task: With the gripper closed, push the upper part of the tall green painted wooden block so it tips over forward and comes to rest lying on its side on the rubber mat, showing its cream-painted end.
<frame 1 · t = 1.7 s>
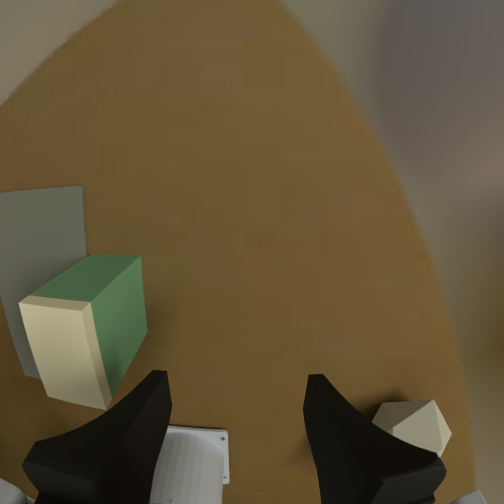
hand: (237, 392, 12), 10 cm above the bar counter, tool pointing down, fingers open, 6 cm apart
block: (119, 294, 22), on the bar counter
mat: (42, 298, 22), on the bar counter
die: (391, 415, 26), on the bar counter
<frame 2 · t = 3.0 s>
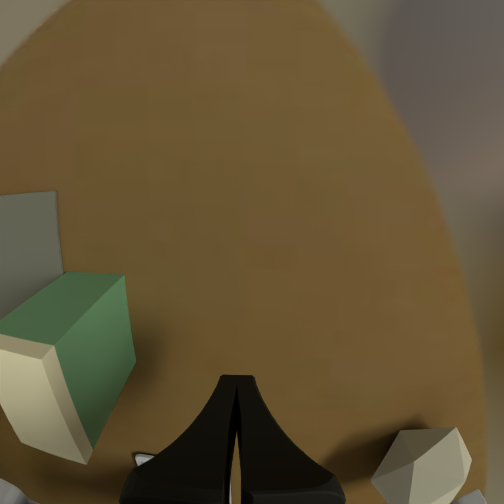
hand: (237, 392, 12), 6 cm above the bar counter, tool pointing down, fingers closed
block: (101, 318, 18), on the bar counter
mat: (18, 319, 18), on the bar counter
die: (408, 441, 22), on the bar counter
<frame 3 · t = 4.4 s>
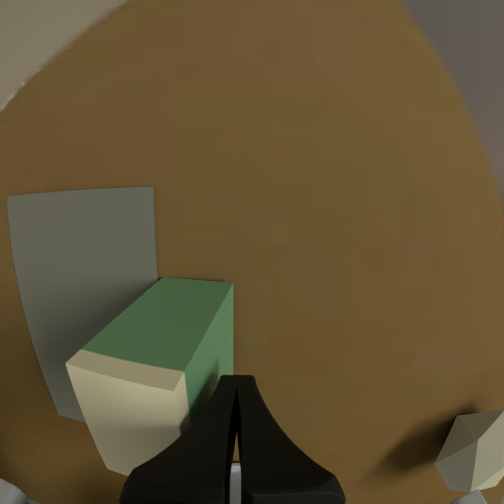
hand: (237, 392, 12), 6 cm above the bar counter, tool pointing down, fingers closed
block: (199, 328, 18), on the bar counter, tilted 9°
mat: (87, 331, 18), on the bar counter
die: (460, 426, 22), on the bar counter
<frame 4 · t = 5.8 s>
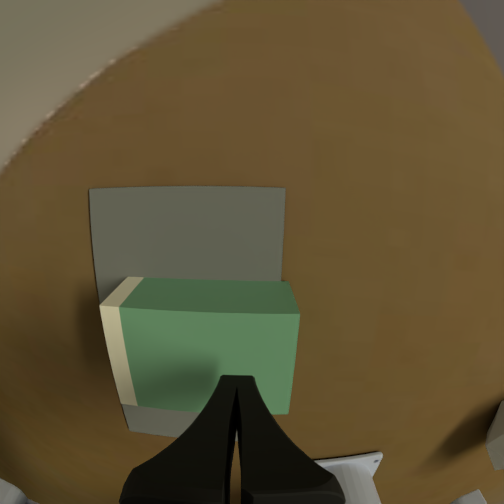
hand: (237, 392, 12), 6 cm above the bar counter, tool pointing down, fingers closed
block: (288, 347, 16), point 2 cm above the bar counter, tilted 90°, touching mat
mat: (186, 340, 18), on the bar counter
die: (502, 411, 22), on the bar counter
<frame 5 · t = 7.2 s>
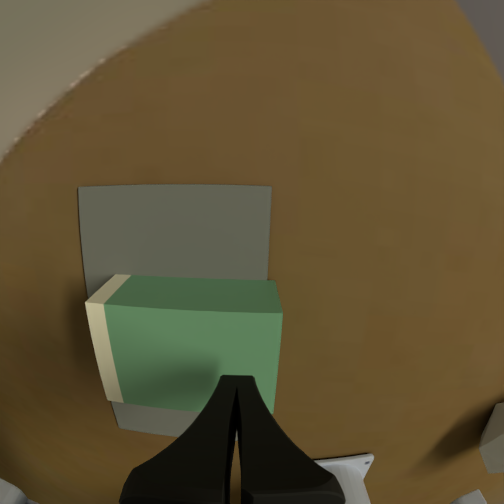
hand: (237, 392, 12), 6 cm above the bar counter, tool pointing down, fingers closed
block: (274, 347, 16), point 2 cm above the bar counter, tilted 90°, touching mat
mat: (173, 338, 18), on the bar counter
die: (496, 414, 22), on the bar counter
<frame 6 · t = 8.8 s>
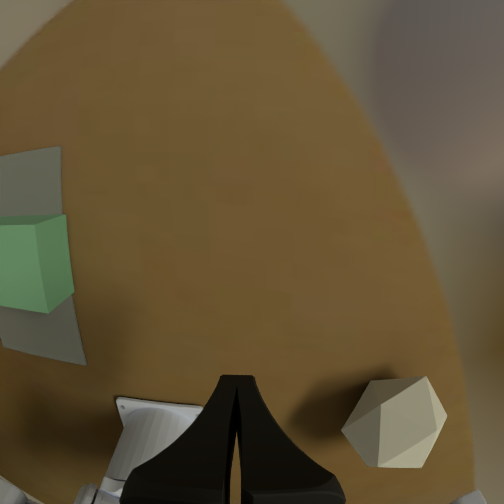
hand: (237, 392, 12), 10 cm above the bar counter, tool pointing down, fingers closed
block: (55, 261, 19), point 2 cm above the bar counter, tilted 90°, touching mat
mat: (19, 263, 21), on the bar counter
die: (381, 396, 25), on the bar counter
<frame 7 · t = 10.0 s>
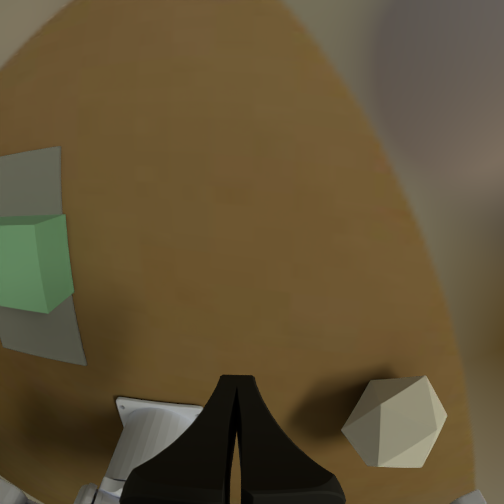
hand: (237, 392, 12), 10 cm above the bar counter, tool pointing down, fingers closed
block: (55, 262, 19), point 2 cm above the bar counter, tilted 90°, touching mat
mat: (19, 263, 21), on the bar counter
die: (381, 395, 25), on the bar counter
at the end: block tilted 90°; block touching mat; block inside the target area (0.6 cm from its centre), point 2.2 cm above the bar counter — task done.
